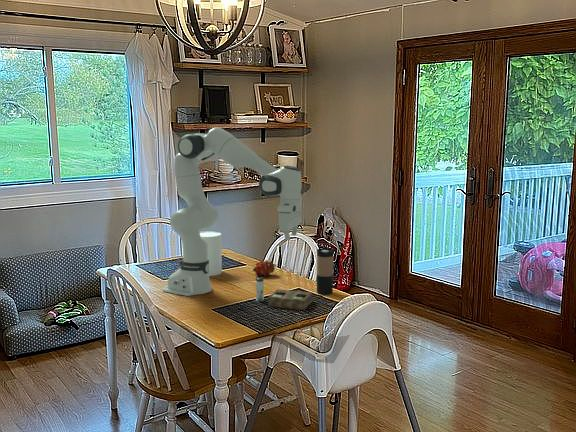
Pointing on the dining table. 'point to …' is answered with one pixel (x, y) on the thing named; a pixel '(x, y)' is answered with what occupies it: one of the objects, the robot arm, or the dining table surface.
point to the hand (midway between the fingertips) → (290, 237)
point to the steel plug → (259, 289)
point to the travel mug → (325, 271)
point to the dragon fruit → (264, 268)
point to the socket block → (290, 299)
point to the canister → (213, 251)
